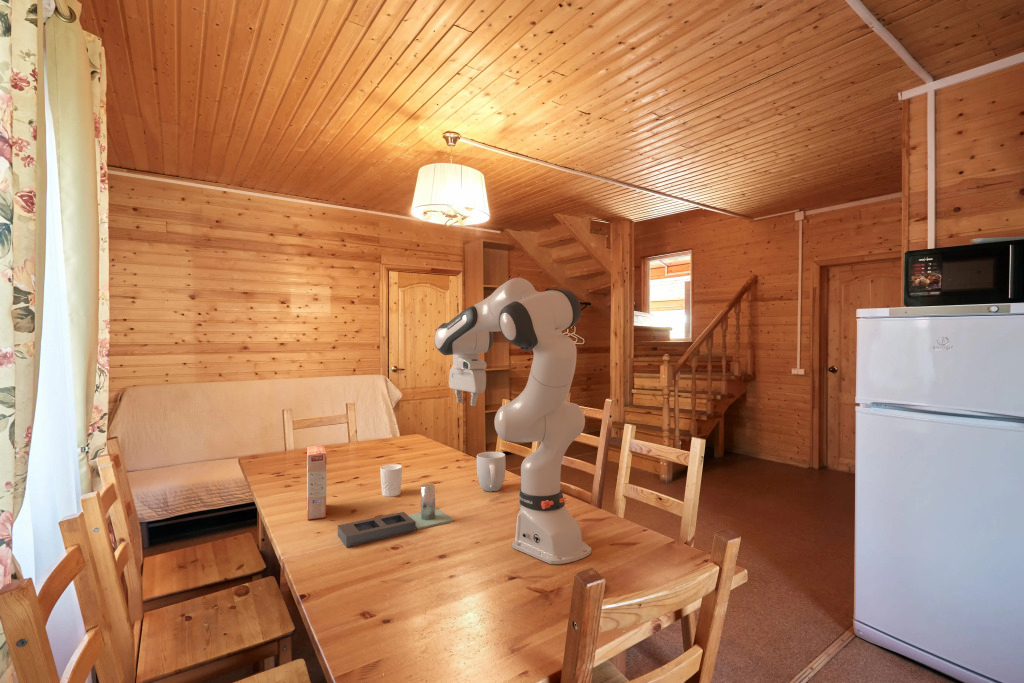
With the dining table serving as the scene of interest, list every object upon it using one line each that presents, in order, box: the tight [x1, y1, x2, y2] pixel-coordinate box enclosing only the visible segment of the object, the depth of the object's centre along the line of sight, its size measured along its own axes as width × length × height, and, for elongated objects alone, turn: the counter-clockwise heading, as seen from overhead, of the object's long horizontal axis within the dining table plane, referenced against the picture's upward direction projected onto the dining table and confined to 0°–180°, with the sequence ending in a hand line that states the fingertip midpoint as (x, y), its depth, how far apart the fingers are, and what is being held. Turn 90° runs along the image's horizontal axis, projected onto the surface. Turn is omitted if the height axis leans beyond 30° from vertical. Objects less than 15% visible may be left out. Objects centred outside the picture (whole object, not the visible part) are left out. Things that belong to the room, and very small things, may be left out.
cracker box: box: [306, 445, 327, 520], centre depth 162 cm, size 14×6×21 cm, turn 23°
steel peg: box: [420, 483, 436, 520], centre depth 154 cm, size 4×4×10 cm
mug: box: [476, 451, 507, 493], centre depth 183 cm, size 15×11×13 cm
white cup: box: [379, 463, 403, 497], centre depth 181 cm, size 8×8×10 cm
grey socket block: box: [337, 511, 417, 548], centre depth 144 cm, size 10×20×3 cm, turn 123°
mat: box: [407, 508, 455, 531], centre depth 154 cm, size 12×12×1 cm
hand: (466, 404), depth 164 cm, fingers open, 8 cm apart
